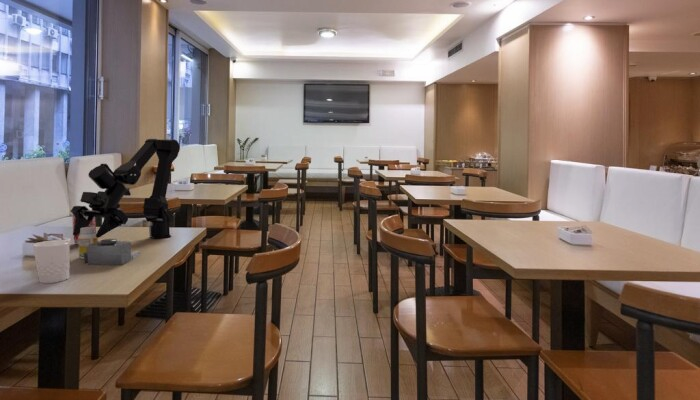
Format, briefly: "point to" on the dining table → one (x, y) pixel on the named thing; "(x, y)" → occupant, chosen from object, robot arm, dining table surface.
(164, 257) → the dining table surface
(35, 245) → the white cup
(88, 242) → the supplement bottle
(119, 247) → the motor clip
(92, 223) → the soda can
